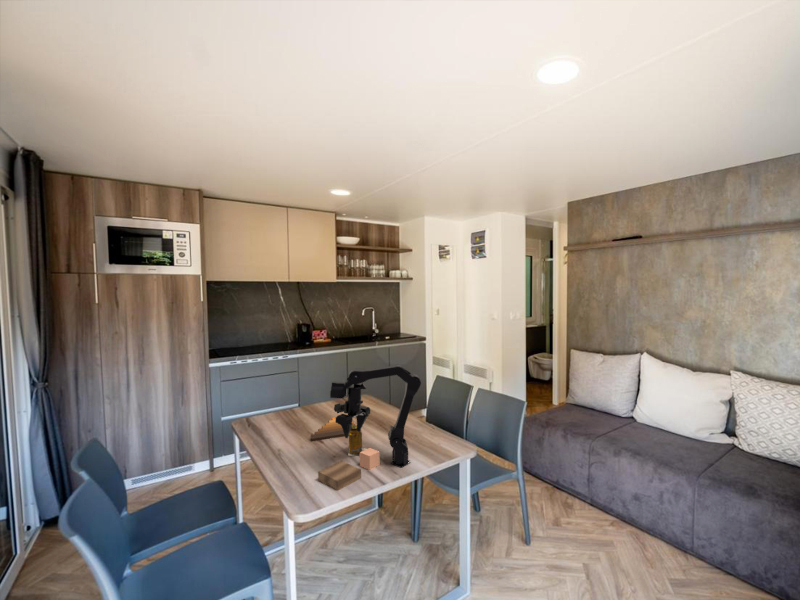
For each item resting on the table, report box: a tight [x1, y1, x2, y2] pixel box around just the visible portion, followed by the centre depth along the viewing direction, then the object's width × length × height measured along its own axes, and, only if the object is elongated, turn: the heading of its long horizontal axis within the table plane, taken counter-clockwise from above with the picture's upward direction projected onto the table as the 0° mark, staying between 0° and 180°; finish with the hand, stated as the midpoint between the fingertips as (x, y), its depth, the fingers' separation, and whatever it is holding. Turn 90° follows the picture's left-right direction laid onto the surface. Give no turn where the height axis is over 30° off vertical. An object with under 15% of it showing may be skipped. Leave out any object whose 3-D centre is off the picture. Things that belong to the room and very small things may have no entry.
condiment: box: [347, 424, 367, 457], centre depth 172 cm, size 7×8×12 cm
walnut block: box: [317, 460, 362, 491], centre depth 147 cm, size 12×12×4 cm
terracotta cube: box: [359, 447, 381, 471], centre depth 159 cm, size 6×6×6 cm
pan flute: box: [310, 417, 357, 442], centre depth 202 cm, size 25×3×25 cm
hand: (352, 434), depth 159 cm, fingers open, 9 cm apart
